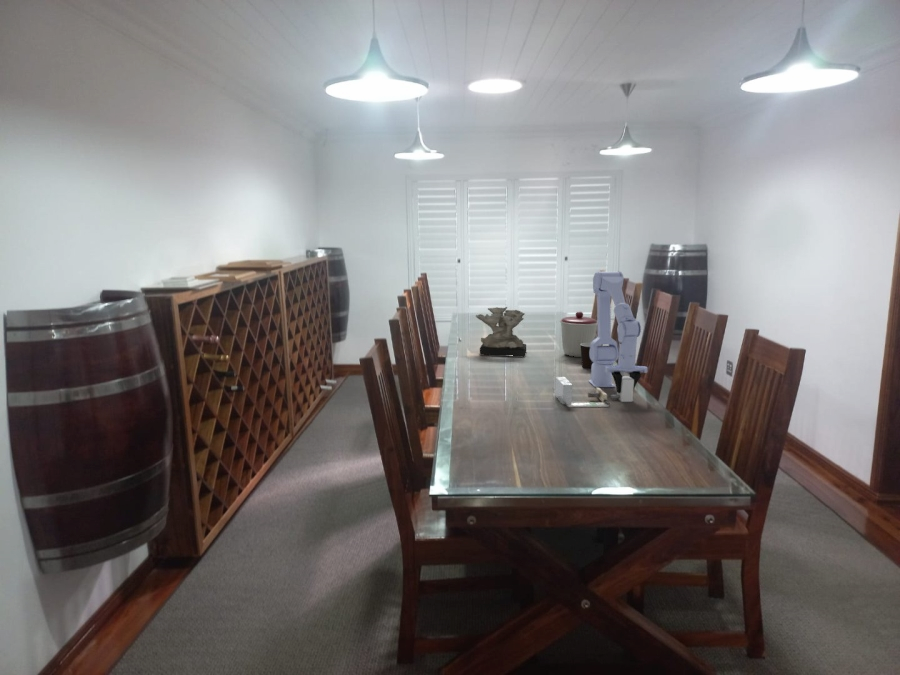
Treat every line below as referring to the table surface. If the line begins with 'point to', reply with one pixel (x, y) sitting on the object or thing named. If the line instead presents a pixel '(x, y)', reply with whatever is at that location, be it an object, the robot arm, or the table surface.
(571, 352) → the canister
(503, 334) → the coral
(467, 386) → the table surface
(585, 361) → the coffee mug
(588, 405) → the frame
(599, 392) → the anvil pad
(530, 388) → the table surface
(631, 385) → the block
